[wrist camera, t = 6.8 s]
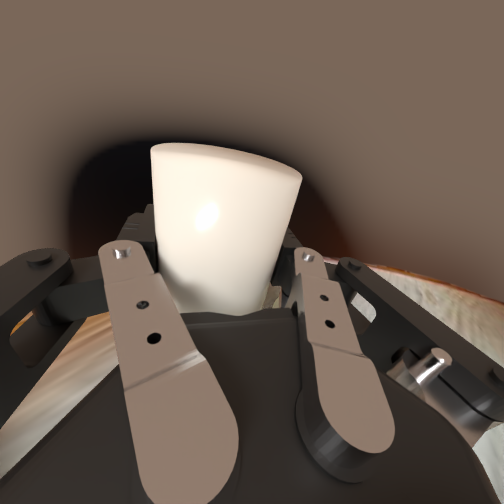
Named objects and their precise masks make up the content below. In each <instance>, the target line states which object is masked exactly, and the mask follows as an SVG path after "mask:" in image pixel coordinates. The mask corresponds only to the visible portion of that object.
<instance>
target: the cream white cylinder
mask: <svg viewBox="0 0 504 504" xmlns="http://www.w3.org/2000/svg"><path fill="white" fill-rule="evenodd" d="M151 162H152V181H153V198H154V216H155V233H156V247H157V264H158V272H159V273H160V274H161V276H162V278H163V280H164V282H165V284H166V286H167V288H168V290H169V292H170V295H171V297H172V299H173V301H174V303H175V305H176V307H177V309H178V311H179V313H191V312H215V313H221V314H228V315H234V316H242V315H246V314H249V313H253V312H256V311H259V310H262V306H263V303H264V300H265V297H266V294H267V290H268V287H269V284H270V281H271V278H272V274H273V271H274V268H275V265H276V261H277V258H278V255H279V252H280V249H281V245H282V242H283V239H284V236H285V232H286V229H287V226H288V223H289V220H290V216H291V213H292V210H293V207H294V204H295V200H296V197H297V194H298V191H299V187H300V184H301V181H302V176H301V174H300V173H299V172H297V171H296V170H294V169H293V168H290V167H289V166H286V165H284V164H282V163H279V162H277V161H274V160H271V159H268V158H265V157H261V156H258V155H254V154H250V153H246V152H242V151H237V150H232V149H227V148H222V147H216V146H208V145H200V144H188V143H165V144H159V145H156V146H153V147H152V148H151Z"/></svg>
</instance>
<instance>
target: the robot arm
mask: <svg viewBox="0 0 504 504" xmlns="http://www.w3.org/2000/svg"><path fill="white" fill-rule="evenodd" d="M270 282H271V284H272V286H281V290H280V293H279V308H270V309H263V310H259V311H256V312H253V313H249V314H246V315H242V316H234V315H228V314H221V313H215V312H191V313H179V311H178V309H177V307H176V305H175V303H174V301H173V299H172V297H171V295H170V292H169V290H168V288H167V286H166V284H165V282H164V280H163V278H162V276H161V274H160V273H159V272H158V264H157V247H156V233H155V216H154V205H152V204H148V205H147V207H146V210H145V212H144V213H135V214H133V215H131V216H130V217H128V219H127V221H126V224H125V225H124V226H123V229H122V230H121V232H120V234H119V236H118V238H117V240H116V241H113V242H110V243H107V244H105V245H103V246H102V247H101V248H100V250H99V255H97V256H94V257H88V258H81V259H74V260H70V257H69V255H68V253H67V252H65V251H64V250H60V249H54V248H47V249H46V248H45V249H37V250H32V251H29V252H26V253H23V254H21V255H18V256H17V257H15V258H13V259H12V260H10V261H8V262H7V263H5V264H4V265H2V266H0V429H1V428H2V426H3V425H4V424H5V423H6V421H7V420H8V419H9V417H10V416H11V415H12V414H13V412H14V411H15V410H16V408H17V407H18V406H19V405H20V403H21V402H22V401H23V400H24V398H25V397H26V396H27V394H28V393H29V392H30V391H31V389H32V388H33V387H34V386H35V384H36V383H37V382H38V380H39V379H40V378H41V377H42V375H43V374H44V373H45V372H46V370H47V369H48V368H49V366H50V365H51V364H52V363H53V361H54V360H55V359H56V358H57V356H58V355H59V354H60V352H61V351H62V350H63V349H64V347H65V346H66V345H67V343H68V342H69V341H70V340H71V338H72V337H73V336H74V335H75V333H76V332H77V331H78V329H79V328H80V327H81V326H82V324H83V323H84V322H85V320H86V318H87V317H90V316H93V315H97V314H101V313H105V312H108V311H109V314H110V319H111V324H112V330H113V335H114V340H115V345H116V351H117V356H118V361H119V364H118V365H117V366H116V367H115V368H114V369H113V370H112V371H111V372H110V373H109V374H108V375H107V376H106V377H105V378H104V379H103V380H102V381H101V382H100V383H99V384H98V385H97V386H96V387H95V388H94V389H93V390H92V391H90V392H89V393H88V394H87V395H86V396H85V397H84V398H83V399H82V400H81V401H80V402H79V403H78V404H77V405H76V406H75V407H74V408H73V409H72V410H71V411H70V412H69V413H68V414H67V415H66V416H65V417H64V418H63V419H62V420H61V421H60V422H59V423H58V424H57V425H56V426H55V427H54V428H53V429H52V430H51V431H49V432H48V433H47V434H46V435H45V436H44V437H43V438H42V439H41V440H40V441H39V442H38V443H37V444H36V445H35V446H34V447H33V448H32V449H31V450H30V451H29V452H28V453H27V454H26V455H25V456H24V457H23V458H22V459H21V460H20V461H19V462H18V463H17V464H16V465H15V466H14V467H13V468H12V469H11V470H10V471H9V472H7V473H6V474H5V475H4V476H3V477H2V478H1V479H0V504H501V502H500V500H499V499H498V497H497V495H496V493H495V490H494V488H493V486H492V484H491V482H490V480H489V478H488V475H487V473H486V471H485V469H484V467H483V465H482V464H481V462H480V460H479V458H478V457H477V455H476V454H475V452H474V451H473V449H472V447H473V446H474V445H475V444H476V442H477V441H478V440H479V439H480V437H481V436H482V435H483V434H484V432H486V431H488V430H490V429H492V428H494V427H496V426H498V425H500V424H502V423H504V368H503V367H501V366H500V365H499V364H497V363H496V362H495V361H493V360H492V359H491V358H489V357H488V356H487V355H485V354H484V353H483V352H481V351H480V350H479V349H477V348H476V347H475V346H473V345H472V344H471V343H469V342H468V341H467V340H465V339H464V338H463V337H461V336H460V335H459V334H457V333H456V332H455V331H453V330H452V329H450V328H449V327H448V326H446V325H445V324H444V323H442V322H441V321H440V320H438V319H437V318H436V317H434V316H433V315H432V314H430V313H429V312H428V311H426V310H425V309H424V308H422V307H421V306H420V305H418V304H417V303H416V302H414V301H413V300H412V299H410V298H409V297H408V296H406V295H405V294H404V293H402V292H401V291H399V290H398V289H397V288H395V287H394V286H393V285H391V284H390V283H389V282H387V281H386V280H385V279H383V278H382V277H381V276H379V275H378V274H377V273H375V272H374V271H373V270H371V269H370V268H369V267H367V266H366V265H365V264H363V263H362V262H360V261H358V260H356V259H353V258H349V257H343V258H341V259H340V260H339V262H338V264H337V265H335V264H330V263H326V262H324V260H323V257H322V256H321V255H320V254H319V253H318V252H316V251H314V250H312V249H309V248H304V247H303V246H302V245H301V243H300V242H299V241H298V240H297V238H296V237H295V236H294V234H293V233H292V232H291V230H290V229H289V228H288V227H287V229H286V232H285V236H284V239H283V242H282V245H281V249H280V252H279V255H278V258H277V261H276V265H275V268H274V271H273V274H272V278H271V281H270ZM357 292H358V293H359V294H360V295H361V296H362V297H363V298H365V299H366V300H367V301H368V302H369V303H370V304H371V305H372V306H373V307H374V308H375V310H376V317H375V319H374V320H373V321H372V323H371V322H370V321H369V320H368V319H367V318H366V317H365V316H363V315H362V314H361V313H360V312H359V311H358V310H357V309H356V308H355V307H354V306H353V305H352V304H351V302H352V300H353V299H354V297H355V296H356V294H357ZM31 311H32V313H33V315H32V316H31V317H30V318H29V319H28V320H27V321H26V322H25V323H24V324H22V325H21V326H20V327H19V328H18V329H17V330H16V331H15V332H14V333H13V334H12V335H11V336H10V334H11V332H12V330H13V328H14V327H15V326H16V324H17V323H18V322H20V321H21V320H22V319H23V318H24V317H25V316H26V315H27V314H28V313H29V312H31Z"/></svg>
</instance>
